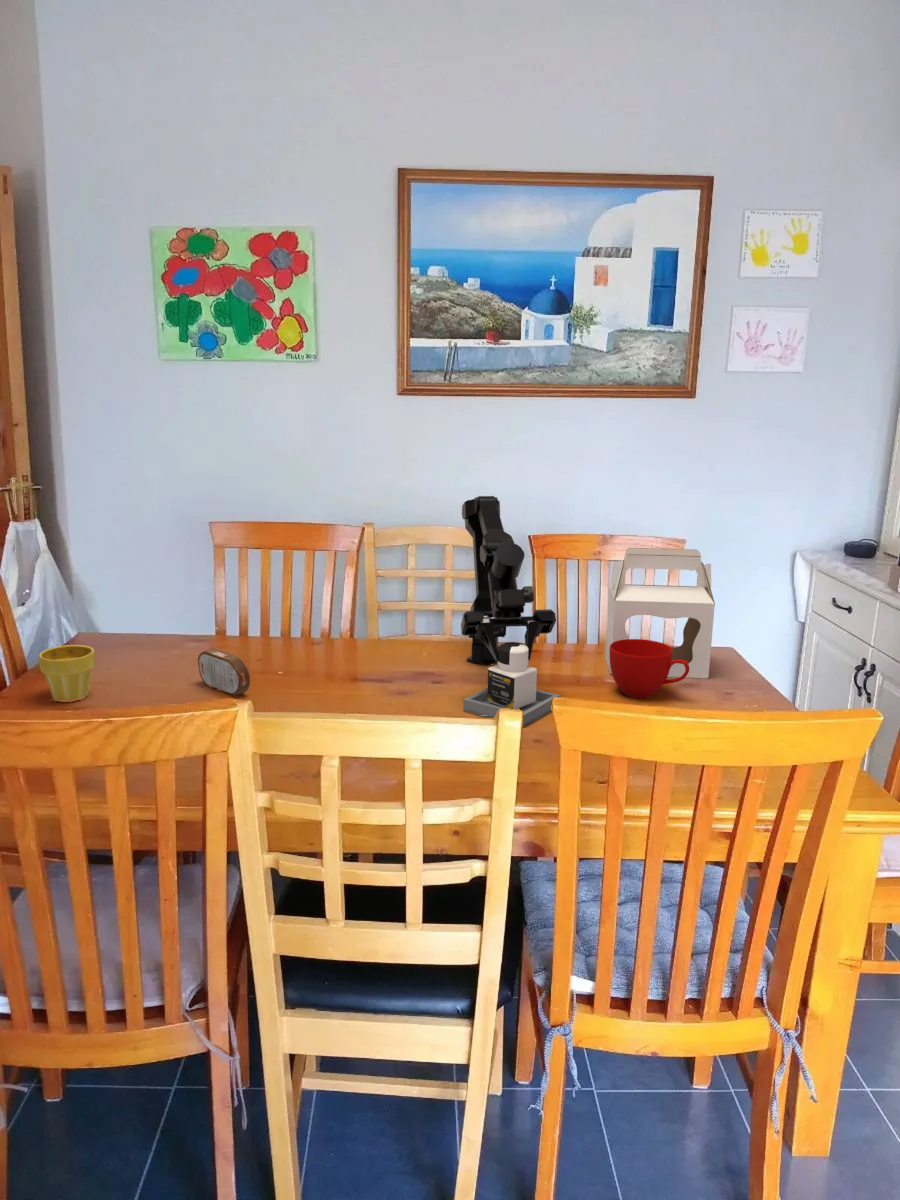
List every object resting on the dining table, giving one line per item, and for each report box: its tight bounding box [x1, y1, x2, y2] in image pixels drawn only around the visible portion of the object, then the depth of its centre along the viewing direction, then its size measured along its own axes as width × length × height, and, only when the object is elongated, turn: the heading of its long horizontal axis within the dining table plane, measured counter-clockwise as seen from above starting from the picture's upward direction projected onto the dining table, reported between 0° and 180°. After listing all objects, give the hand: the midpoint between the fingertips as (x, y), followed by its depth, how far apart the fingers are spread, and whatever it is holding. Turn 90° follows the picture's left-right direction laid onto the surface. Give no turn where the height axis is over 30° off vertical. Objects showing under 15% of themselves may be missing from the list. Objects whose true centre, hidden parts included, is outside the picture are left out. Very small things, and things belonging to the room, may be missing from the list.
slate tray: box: [462, 687, 561, 728], centre depth 177 cm, size 14×14×2 cm
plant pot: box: [38, 644, 96, 700], centre depth 180 cm, size 10×10×10 cm
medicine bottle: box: [487, 641, 538, 709], centre depth 176 cm, size 7×7×12 cm
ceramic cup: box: [610, 638, 689, 699], centre depth 185 cm, size 13×17×10 cm
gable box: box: [605, 547, 716, 680], centre depth 201 cm, size 22×13×28 cm, turn 85°
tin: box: [197, 647, 251, 697], centre depth 185 cm, size 15×3×8 cm, turn 50°
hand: (513, 659), depth 175 cm, fingers closed on medicine bottle, 6 cm apart
